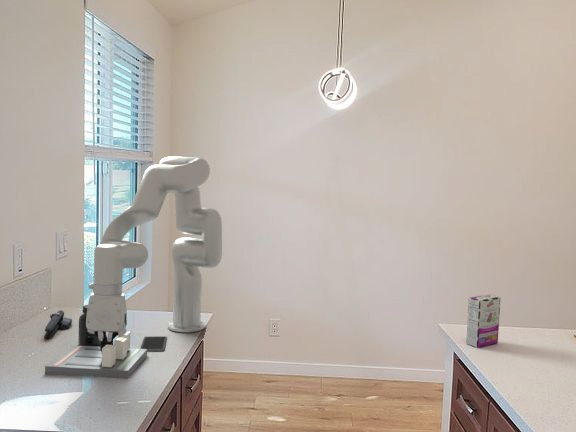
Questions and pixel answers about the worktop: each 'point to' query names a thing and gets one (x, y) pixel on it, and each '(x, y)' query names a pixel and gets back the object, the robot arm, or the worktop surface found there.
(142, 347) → the cell phone
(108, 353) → the block
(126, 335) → the block
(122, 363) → the breaker board
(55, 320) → the can opener
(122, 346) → the handle
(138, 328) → the worktop surface
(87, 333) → the supplement bottle
